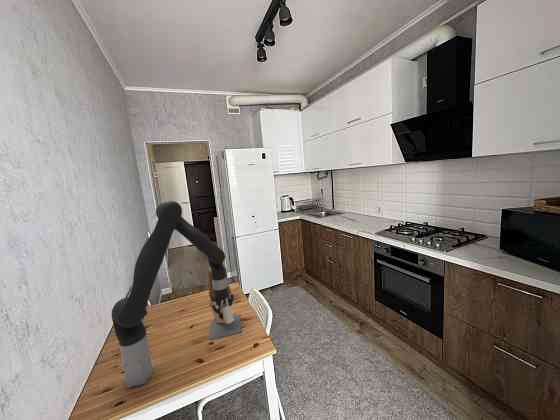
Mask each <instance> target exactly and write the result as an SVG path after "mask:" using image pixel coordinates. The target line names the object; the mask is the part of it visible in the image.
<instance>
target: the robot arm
mask: <svg viewBox="0 0 560 420" xmlns="http://www.w3.org/2000/svg"><path fill="white" fill-rule="evenodd" d="M155 216H156V217H157V221H156V223H155V227H154V229H153V231H152V233H151V234H150V236H149V237H148V238H147V239H146V241H145V242H144V244H143V246H142V247H141V250H140V251H139V254H138V256H137V259H136V261H135V264H134V270H133V277H132V278H133V279H132V280H133V281H132V286H131V290H130V292H129V293H128V297H123V298H121V299H119V300H118V301H116V303H115V304H114V306H113V308H112V309H111V319H112V324H113V329H114V334H115V336H116V339H117V341H118V345H119V350H120V354H121V360H122V365H123V367H122V368H123V373H124V378H125V383H126V387H127V389H129V388H130V389H131V388H134V387H137V386H140V385H144V384H146V382H147V381H148V380H149V379H150V378H151V377H152V375H153V373H154V367H153V362H152V358H151V351H150V346H149V341H148V335H147V329H146V327H145V325H144V322H143V323H142V320H141V319H143V318H144V317H143V316H145V315H144V313H145V310H147V306H148V303H149V299H150V295H151V293H152V292H151V291H152V290H153V289H152V288H153V286H154V284H155V283H156V282H155V281H156V279H157V276H158V273H159V271H160V269H161V266H162V264H163V261H164V259H165V255H166V252H167V250H168V247H169V244H170V241H171V239H172V236H173V233H174V231H177V232H178V233H180V235H182V236H183V238H185V239H186V240H187V241H188V242H189V243H191V244H192V246H194V247H195V248H196V249H197V250H198V251H200V252H201V253H202V254H204V255H205V256H206V257H207V262H208V264H209V267H210V268H211V273H212V285H213V292H214V297H215V299H214V302H213V301H212V303H209V306H210V308H211V310H212V309H213V311H214V312H215V313H217V314H219V318H220V319H223V313H222V308H223V305H230V307H232V306H233V301H234V297H235V294H232V293H231V294H229V290H228V285H229V283H228V277H227V278H226V271H227V270H226V271H225V267H226V266H225V265H224V263H223V262H224V261H225V260H226V253H225V252H224V250H222V249H221V248H220V247H219V246H218V245H216V244H215V243H213V241H212V240H211V239H210V237H208V236H207V235H206V234H205V233H204V232H202V231H201V230H200V229H198V228H197V227H196V226H194V225H192V224H191V223H189V221H187V220H186V219H185V218H184V217H183V208H182V206H181V204H180V203H178V202H177V201H173V200H170V201H165V202H162V203H160V204H158V205H157V207H156V209H155ZM223 265H224V266H225V267H224V266H223ZM216 306H217V308H218V310H217V308H216ZM213 311H212V312H213ZM145 314H146V313H145Z"/></svg>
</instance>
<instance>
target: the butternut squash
mask: <svg viewBox="0 0 560 420" xmlns="http://www.w3.org/2000/svg"><path fill="white" fill-rule="evenodd" d="M223 266H224V267H225V271H226V278H227V279H228V272H227V268H226V266H225V265H224V264H223ZM207 275H208V283H209V290H208V296H209V299H210V301H211V302H212V303H213V302H214V299H215V297H214V292H213V285H212V273H211V268H210V266H209V267H208V269H207ZM228 290H229V294H232V289H231V287H230V285H229V284H228Z"/></svg>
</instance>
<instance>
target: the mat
mask: <svg viewBox="0 0 560 420" xmlns="http://www.w3.org/2000/svg"><path fill="white" fill-rule="evenodd" d="M232 315H233V318H234V321H233V322H231V323H216V321H215V318H214V319H211V320H210V326H209V333H208V334H209V335H208V341H211V340H216V339H221V338H225V337H229V336H234V335H238V334H242V332H243V331H242V322H241V314H240V313H239V314H232Z"/></svg>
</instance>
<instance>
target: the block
mask: <svg viewBox="0 0 560 420" xmlns="http://www.w3.org/2000/svg"><path fill="white" fill-rule="evenodd" d="M216 308H217V305H216ZM217 310H218V308H217ZM211 311H212V314H213V318H214V319H215V321H216V323H231V322H233V321H234V318H233V315H234V314H233V311H232V309H231V306H230V305H223V308H222V313H223V319H220V318H219V314H217V313H215V312H214V311H213V309H212V308H211Z"/></svg>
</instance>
